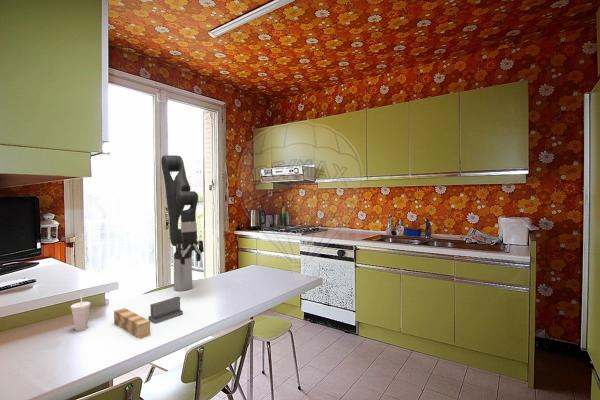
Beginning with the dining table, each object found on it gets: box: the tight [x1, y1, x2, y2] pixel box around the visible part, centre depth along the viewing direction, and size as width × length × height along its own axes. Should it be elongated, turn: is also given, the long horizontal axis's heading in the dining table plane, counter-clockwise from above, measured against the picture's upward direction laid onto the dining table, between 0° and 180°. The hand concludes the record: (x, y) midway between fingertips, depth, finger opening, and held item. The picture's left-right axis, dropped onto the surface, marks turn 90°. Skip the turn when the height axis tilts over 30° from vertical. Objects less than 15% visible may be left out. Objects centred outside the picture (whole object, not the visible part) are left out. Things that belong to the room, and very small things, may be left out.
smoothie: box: [70, 293, 91, 332], centre depth 120 cm, size 6×6×14 cm
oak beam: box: [113, 307, 151, 340], centre depth 119 cm, size 22×4×6 cm, turn 52°
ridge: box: [147, 296, 184, 325], centre depth 130 cm, size 6×12×7 cm, turn 142°
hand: (190, 262), depth 154 cm, fingers open, 8 cm apart
